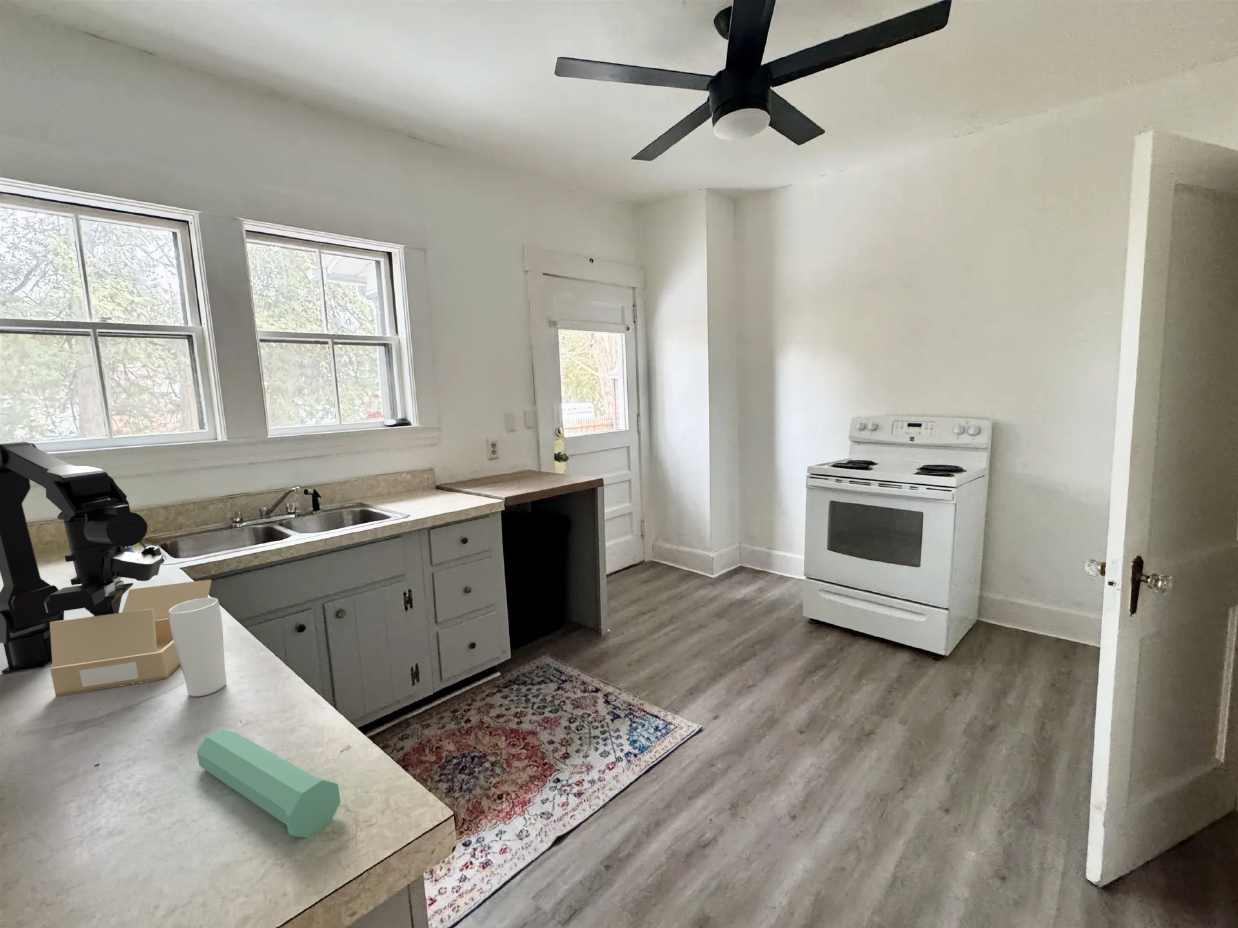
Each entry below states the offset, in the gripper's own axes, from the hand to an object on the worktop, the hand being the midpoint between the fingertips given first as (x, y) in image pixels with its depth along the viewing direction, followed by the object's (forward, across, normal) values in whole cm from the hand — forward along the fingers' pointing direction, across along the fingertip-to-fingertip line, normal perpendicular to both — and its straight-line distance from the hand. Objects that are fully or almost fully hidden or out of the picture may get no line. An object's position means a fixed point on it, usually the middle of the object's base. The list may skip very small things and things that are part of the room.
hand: (112, 629), depth 97 cm
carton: (+10, +6, 0) cm, 11 cm away
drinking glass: (+10, -10, -16) cm, 22 cm away
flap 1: (0, -2, 0) cm, 2 cm away
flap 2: (+2, +18, 0) cm, 18 cm away
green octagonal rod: (+10, -42, -34) cm, 54 cm away
